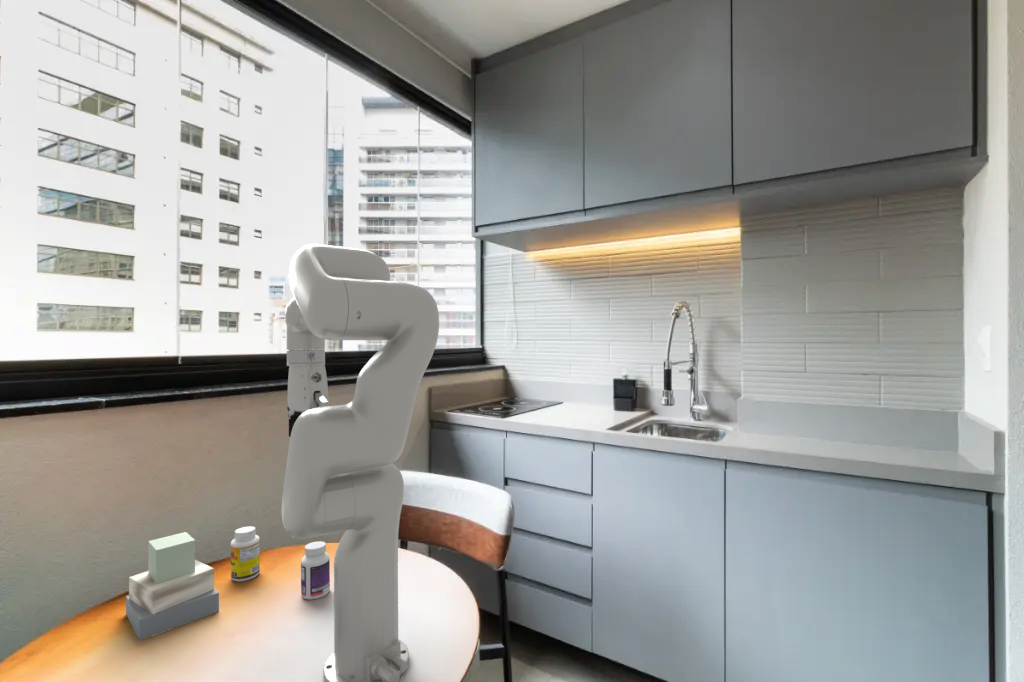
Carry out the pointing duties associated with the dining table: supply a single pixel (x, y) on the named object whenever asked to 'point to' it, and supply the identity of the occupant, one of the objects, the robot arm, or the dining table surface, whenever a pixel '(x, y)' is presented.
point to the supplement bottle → (245, 554)
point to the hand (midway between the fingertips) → (306, 438)
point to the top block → (170, 588)
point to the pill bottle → (315, 571)
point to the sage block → (171, 557)
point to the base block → (171, 614)
